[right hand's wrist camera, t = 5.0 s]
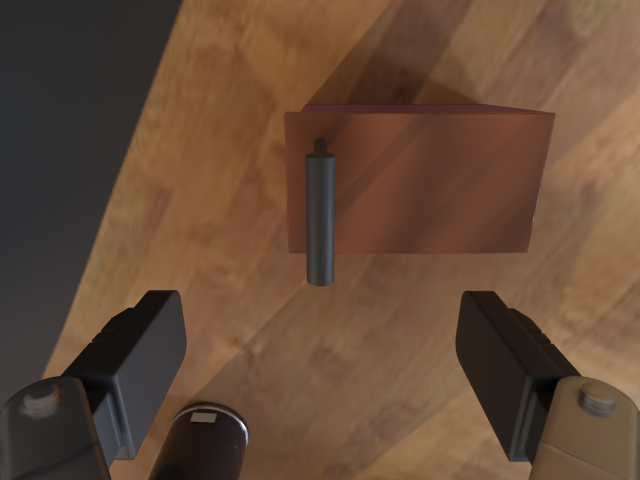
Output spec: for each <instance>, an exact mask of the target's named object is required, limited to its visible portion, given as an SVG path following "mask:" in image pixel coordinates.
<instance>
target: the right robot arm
mask: <svg viewBox="0 0 640 480" xmlns="http://www.w3.org/2000/svg"><path fill="white" fill-rule="evenodd" d="M186 343H187V340H186V331H185V324H184V318H183V311H182V304H181V298H180V294H179V292H178V291H177V290H149V291H148V292H147V293H146V294H145V295H144V296H143V297H142V299H141V300H140V301H139V302H138V303H137V305H136V306H135V307H134V308H127V309H126V310H124V311H122V312H121V313H119V314H118V315H116V316H114V317H113V318H111V320H110V321H109V322H108V323H107V324H106V325H105V326H104V327H103V329H102V330H101V333H98V334H97V335H96V336H95V338H94V339H93V340H92V343H89V344H88V345H87V347H86V348H85V349H84V350H83V351H82V352H81V353H80V354H79V356H78V357H77V358H76V359H75V360H74V361H73V362H72V363H71V365H70V366H69V367H68V368H67V369H66V370H65V371H64V372H63V374H62V375H61V376H57V377H51V378H47V379H44V380H41V381H38V382H35V383H33V384H31V385H29V386H27V387H25V388H23V389H22V390H20V391H19V392H17V393H16V394H15V395H13V396H12V397H11V398H10V399H9V400H8V401H7V402H6V403H5V405H4V406H3V407H2V410H1V411H0V480H111V476H110V473H109V468H110V466H111V464H112V462H113V461H114V460H134V458H135V456H136V454H137V452H138V450H139V448H140V446H141V444H142V442H143V440H144V438H145V436H146V434H147V432H148V430H149V428H150V426H151V424H152V422H153V420H154V418H155V416H156V414H157V412H158V410H159V408H160V406H161V404H162V402H163V400H164V398H165V396H166V394H167V392H168V390H169V388H170V386H171V384H172V382H173V380H174V378H175V376H176V374H177V372H178V370H179V368H180V366H181V364H182V361H183V359H184V356H185V352H186ZM456 353H457V357H458V360H459V362H460V364H461V366H462V368H463V370H464V372H465V374H466V376H467V378H468V380H469V382H470V384H471V386H472V388H473V390H474V392H475V394H476V396H477V398H478V400H479V402H480V404H481V406H482V408H483V410H484V412H485V414H486V416H487V418H488V420H489V422H490V424H491V426H492V428H493V430H494V432H495V434H496V436H497V438H498V440H499V442H500V444H501V446H502V448H503V450H504V452H505V454H506V456H507V458H508V460H509V462H530V463H531V465H532V470H531V473H530V476H529V480H640V411H639V409H638V407H637V406H636V405H635V403H634V402H633V401H632V400H631V399H630V398H629V397H628V396H627V395H625V394H624V393H623V392H621V391H620V390H618V389H617V388H615V387H613V386H611V385H609V384H607V383H605V382H602V381H599V380H596V379H593V378H589V377H583V376H582V375H581V374H580V373H579V372H578V371H577V370H576V369H575V368H574V367H573V365H572V364H571V363H570V362H569V361H568V360H567V359H566V358H565V356H564V355H563V354H562V353H561V352H560V351H559V350H558V349H557V348H556V346H555V345H554V344H551V341H550V340H549V339H548V338H547V336H546V335H545V334H544V333H542V331H541V330H540V329H539V328H538V326H537V325H536V324H535V323H534V322H533V321H532V320H531V319H530V318H529V317H527V316H525V315H524V314H522V313H520V312H519V311H517V310H516V309H514V308H508V307H507V306H506V305H505V304H504V302H503V301H502V300H501V299H500V298H499V296H498V295H497V294H496V293H495V292H494V291H465V292H464V293H463V295H462V299H461V305H460V312H459V319H458V326H457V332H456ZM248 438H249V432H248V428H247V425H246V423H245V422H244V420H243V419H242V418H241V417H240V416H239V415H238V414H237V413H236V412H234V411H233V410H231V409H229V408H227V407H225V406H222V405H218V404H213V403H199V404H194V405H191V406H188V407H186V408H184V409H183V410H181V411H180V412H179V413H178V414H177V415H176V416H175V417H174V419H173V421H172V424H171V426H170V429H169V433H168V435H167V437H166V440H165V442H164V444H163V446H162V448H161V451H160V453H159V455H158V458H157V460H156V462H155V465H154V467H153V469H152V471H151V474H150V476H149V478H148V480H239V478H240V473H241V469H242V464H243V459H244V454H245V450H246V447H247V443H248Z"/></svg>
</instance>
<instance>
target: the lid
mask: <svg viewBox="0 0 640 480" xmlns="http://www.w3.org/2000/svg"><path fill="white" fill-rule="evenodd" d="M555 115H556V114H555V113H550V112H286V113H285V114H284V123H285V155H286V187H287V219H288V251H289V253H307V281H308V283H309V284H311V285H314V286H327V285H330V284H331V283H332V282H333V281H334V253H527V251H528V246H529V241H530V236H531V231H532V226H533V222H534V217H535V212H536V207H537V202H538V197H539V193H540V188H541V183H542V178H543V173H544V168H545V164H546V159H547V154H548V149H549V144H550V139H551V135H552V130H553V125H554V120H555Z"/></svg>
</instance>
